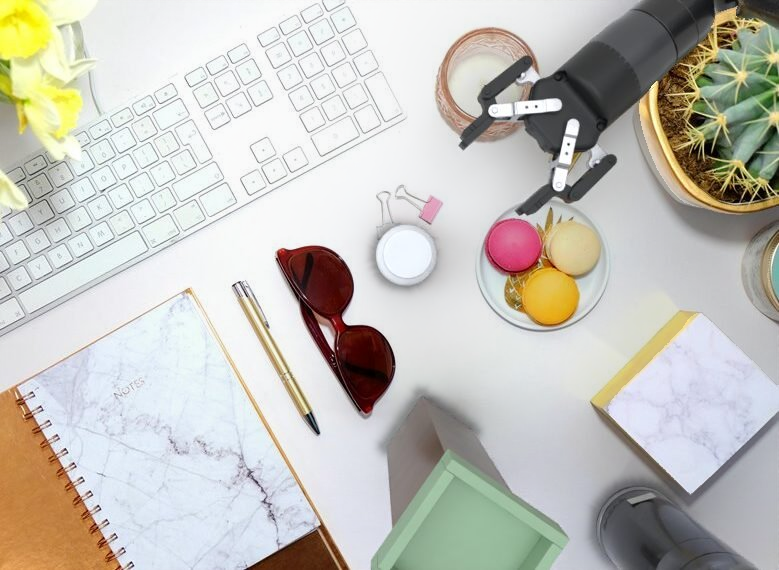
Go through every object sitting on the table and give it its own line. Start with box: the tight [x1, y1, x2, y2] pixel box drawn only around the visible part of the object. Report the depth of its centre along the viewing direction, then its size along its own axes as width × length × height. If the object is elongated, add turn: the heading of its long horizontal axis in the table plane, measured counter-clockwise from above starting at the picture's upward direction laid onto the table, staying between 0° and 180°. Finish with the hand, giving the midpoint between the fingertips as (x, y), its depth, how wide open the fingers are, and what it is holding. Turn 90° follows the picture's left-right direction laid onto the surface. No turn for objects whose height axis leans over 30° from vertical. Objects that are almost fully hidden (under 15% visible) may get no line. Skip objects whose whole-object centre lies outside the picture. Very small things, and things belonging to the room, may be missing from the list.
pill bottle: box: [375, 224, 438, 287], centre depth 66 cm, size 6×6×11 cm
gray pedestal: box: [386, 396, 513, 530], centre depth 58 cm, size 7×7×28 cm
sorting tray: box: [370, 449, 571, 570], centre depth 43 cm, size 9×9×3 cm
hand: (490, 180), depth 63 cm, fingers open, 8 cm apart
